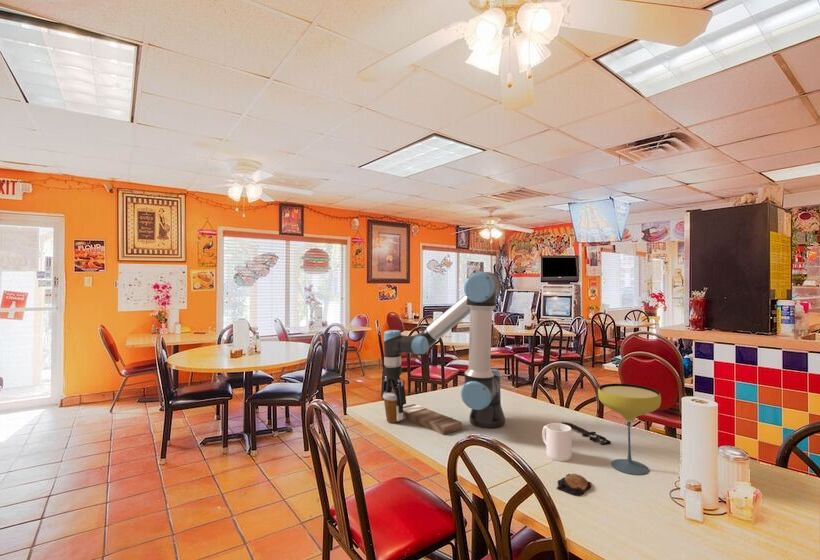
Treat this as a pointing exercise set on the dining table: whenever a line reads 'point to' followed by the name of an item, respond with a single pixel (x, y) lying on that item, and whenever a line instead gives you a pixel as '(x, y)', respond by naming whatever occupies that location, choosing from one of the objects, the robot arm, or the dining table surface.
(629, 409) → the cocktail glass
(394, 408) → the disposable coffee cup
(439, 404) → the dining table surface
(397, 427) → the dining table surface
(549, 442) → the cup
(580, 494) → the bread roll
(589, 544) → the dining table surface
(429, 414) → the walnut board
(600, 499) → the dining table surface
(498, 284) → the robot arm
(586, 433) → the knife
